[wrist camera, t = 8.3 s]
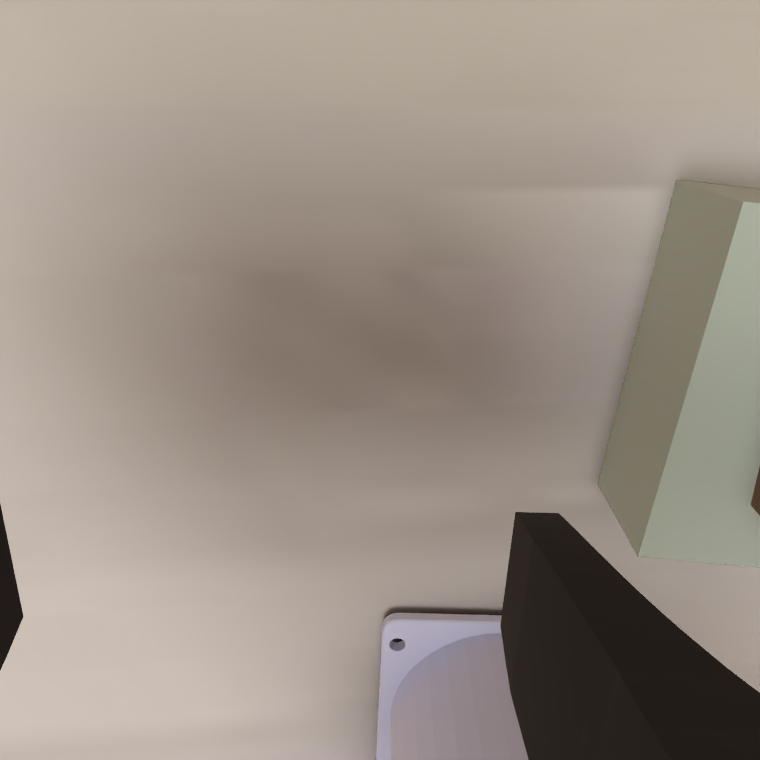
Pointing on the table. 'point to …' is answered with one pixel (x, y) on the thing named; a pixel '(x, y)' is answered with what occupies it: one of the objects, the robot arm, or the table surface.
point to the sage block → (694, 388)
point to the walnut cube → (756, 495)
